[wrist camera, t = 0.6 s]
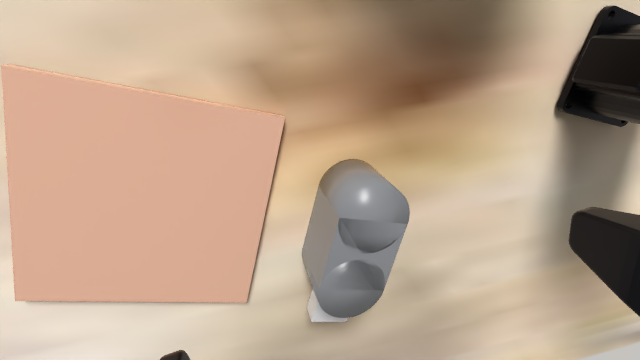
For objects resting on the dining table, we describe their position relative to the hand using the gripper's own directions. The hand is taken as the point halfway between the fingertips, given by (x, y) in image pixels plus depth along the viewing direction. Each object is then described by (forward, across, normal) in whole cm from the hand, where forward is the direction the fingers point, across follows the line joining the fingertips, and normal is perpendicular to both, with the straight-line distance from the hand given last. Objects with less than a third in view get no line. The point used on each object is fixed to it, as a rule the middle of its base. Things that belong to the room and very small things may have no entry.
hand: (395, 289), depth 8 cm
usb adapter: (+13, -2, +7) cm, 15 cm away
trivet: (+13, +8, +2) cm, 16 cm away
